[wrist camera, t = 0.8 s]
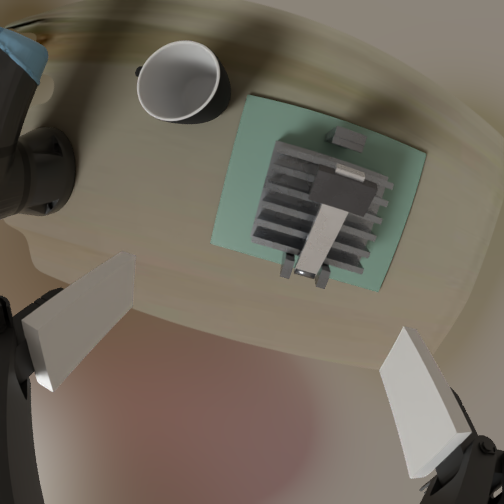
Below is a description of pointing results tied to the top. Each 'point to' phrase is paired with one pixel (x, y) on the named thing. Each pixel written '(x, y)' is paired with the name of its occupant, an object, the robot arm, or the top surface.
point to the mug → (183, 84)
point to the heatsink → (313, 206)
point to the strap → (332, 211)
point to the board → (312, 138)
